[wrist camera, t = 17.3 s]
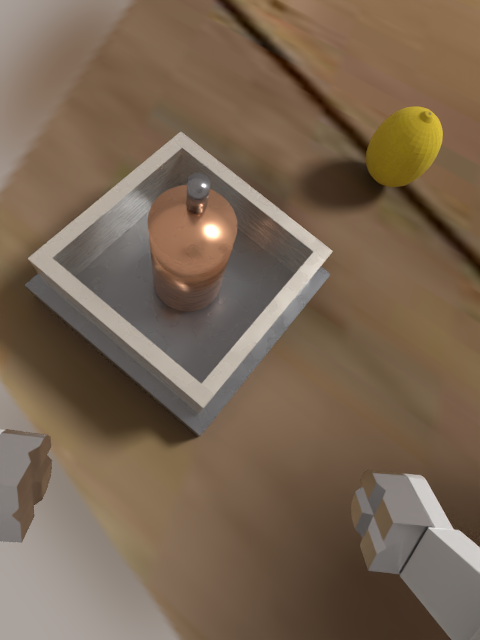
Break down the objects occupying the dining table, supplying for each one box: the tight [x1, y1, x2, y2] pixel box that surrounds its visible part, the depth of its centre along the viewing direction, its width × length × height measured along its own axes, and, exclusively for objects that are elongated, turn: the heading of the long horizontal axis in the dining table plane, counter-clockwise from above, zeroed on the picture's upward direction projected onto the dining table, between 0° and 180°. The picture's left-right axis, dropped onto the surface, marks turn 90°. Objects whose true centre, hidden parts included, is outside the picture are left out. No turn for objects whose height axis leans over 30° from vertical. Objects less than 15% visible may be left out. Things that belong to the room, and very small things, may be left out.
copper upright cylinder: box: [148, 173, 237, 312], centre depth 26 cm, size 5×5×10 cm
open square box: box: [25, 132, 333, 437], centre depth 29 cm, size 16×16×6 cm
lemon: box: [366, 107, 443, 187], centre depth 35 cm, size 6×6×8 cm
